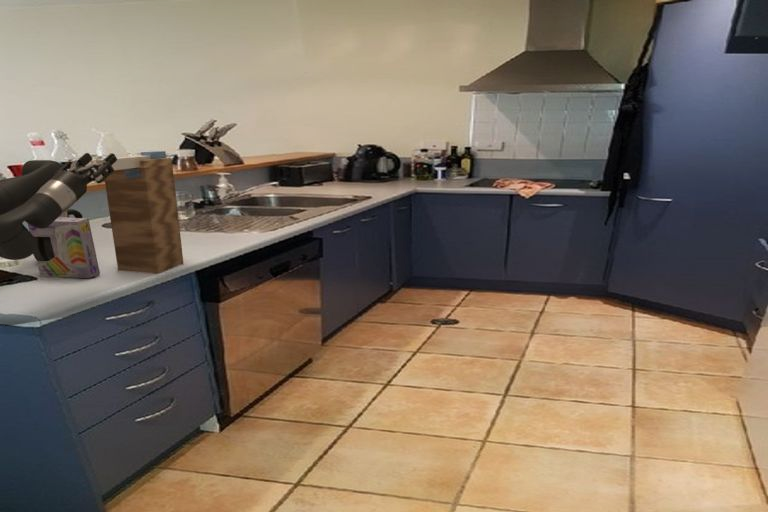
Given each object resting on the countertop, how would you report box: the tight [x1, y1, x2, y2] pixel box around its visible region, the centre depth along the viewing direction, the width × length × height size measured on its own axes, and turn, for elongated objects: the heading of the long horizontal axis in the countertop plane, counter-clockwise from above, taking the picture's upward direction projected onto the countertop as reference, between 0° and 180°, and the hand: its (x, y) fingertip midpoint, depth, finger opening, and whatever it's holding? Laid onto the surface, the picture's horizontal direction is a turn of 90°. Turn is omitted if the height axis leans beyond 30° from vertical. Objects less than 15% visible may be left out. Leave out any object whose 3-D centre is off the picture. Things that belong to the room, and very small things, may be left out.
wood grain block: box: [104, 157, 184, 275], centre depth 157 cm, size 13×15×34 cm
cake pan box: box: [27, 217, 101, 279], centre depth 151 cm, size 19×5×18 cm, turn 77°
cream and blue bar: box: [95, 150, 168, 170], centre depth 147 cm, size 24×4×4 cm, turn 163°
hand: (101, 155), depth 136 cm, fingers open, 8 cm apart
